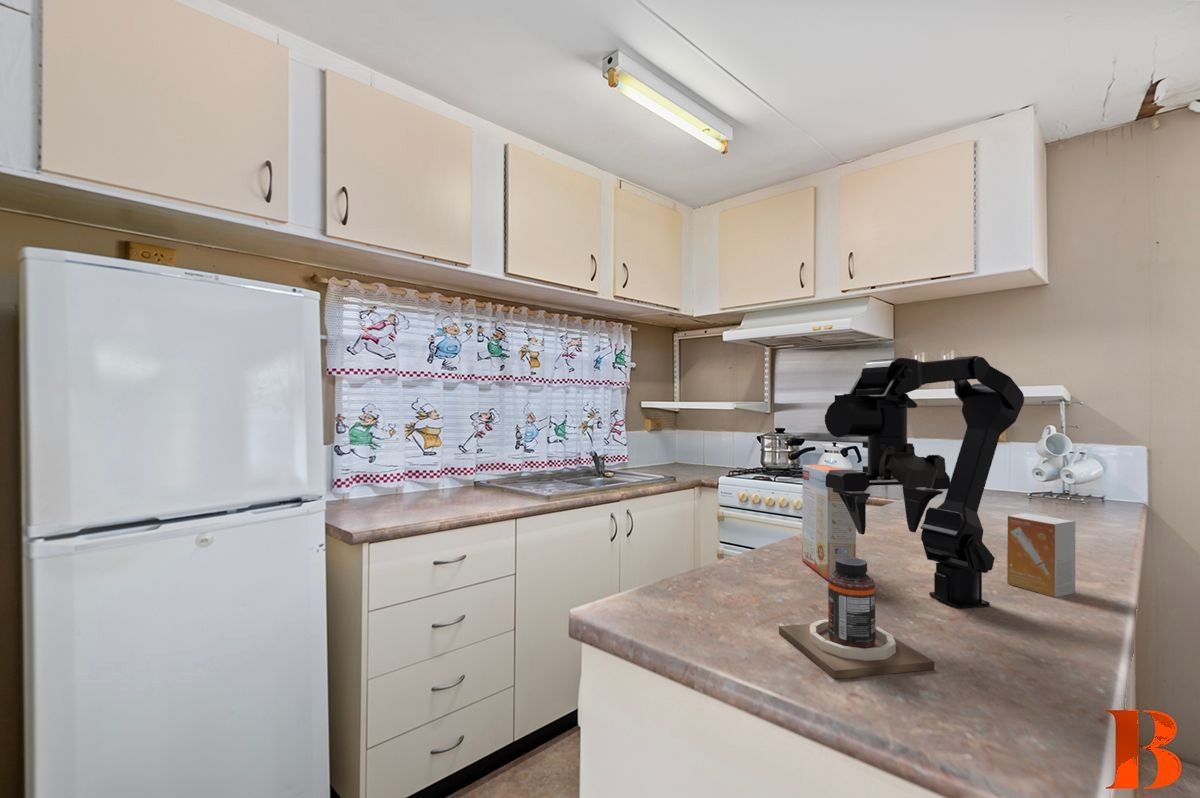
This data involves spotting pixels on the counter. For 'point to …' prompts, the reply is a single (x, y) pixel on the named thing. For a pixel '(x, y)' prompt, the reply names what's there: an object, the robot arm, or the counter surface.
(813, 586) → the counter surface
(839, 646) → the collar
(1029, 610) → the counter surface
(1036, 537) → the small box
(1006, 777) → the counter surface
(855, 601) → the supplement bottle
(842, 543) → the cracker box
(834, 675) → the board
